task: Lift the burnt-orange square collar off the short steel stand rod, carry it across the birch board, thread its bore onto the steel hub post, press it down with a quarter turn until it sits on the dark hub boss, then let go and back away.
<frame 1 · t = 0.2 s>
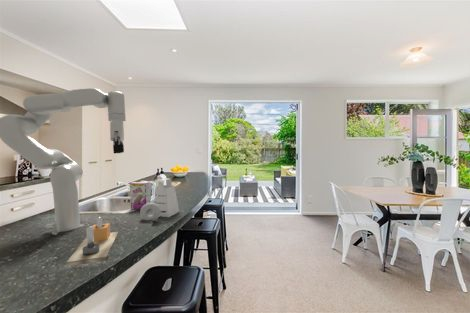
hand: (119, 152, 120), 36 cm above the counter, tool pointing down, fingers open, 9 cm apart
candy bar box: (140, 208, 153), on the counter
grater: (166, 214, 141), on the counter
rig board: (96, 248, 96), on the counter
hub: (91, 256, 89), resting on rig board
collar: (100, 238, 102), point 1 cm above the counter, touching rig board
donut: (150, 222, 127), on the counter
stand rod: (100, 241, 102), resting on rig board
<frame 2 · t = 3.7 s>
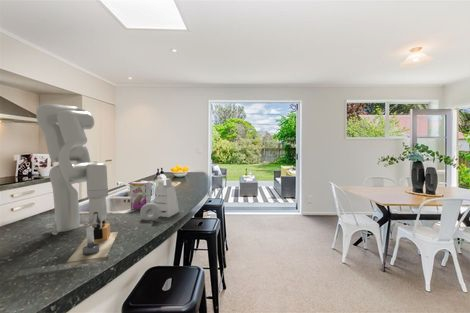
hand: (100, 235, 102), 3 cm above the counter, tool pointing down, fingers closed on collar, 6 cm apart
collar: (100, 238, 102), point 1 cm above the counter, touching gripper, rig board
everything else where it was.
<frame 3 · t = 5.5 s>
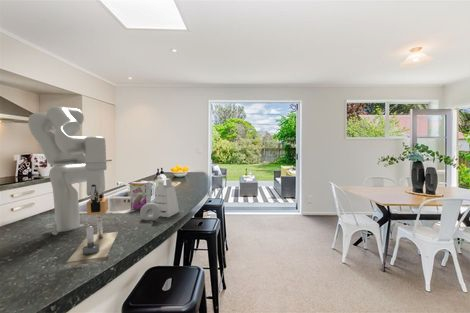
hand: (98, 209, 102), 14 cm above the counter, tool pointing down, fingers closed on collar, 6 cm apart
collar: (98, 212, 102), point 12 cm above the counter, touching gripper
everything else where it was.
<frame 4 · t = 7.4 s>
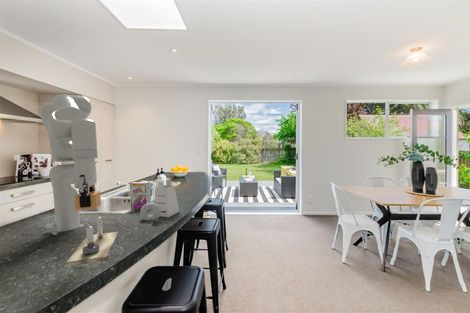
hand: (88, 204, 88), 19 cm above the counter, tool pointing down, fingers closed on collar, 6 cm apart
collar: (88, 207, 88), point 18 cm above the counter, touching gripper
everything else where it was.
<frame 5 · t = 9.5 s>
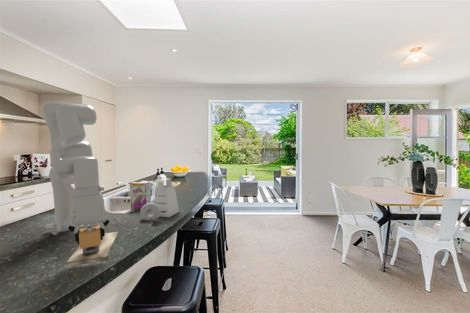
hand: (90, 240, 88), 6 cm above the counter, tool pointing down, fingers closed on collar, 6 cm apart
collar: (90, 243, 88), point 5 cm above the counter, touching gripper
everything else where it was.
when the fingers open (5 cm above the counter, at t = 11.1 s): collar stays where it is, resting on hub.
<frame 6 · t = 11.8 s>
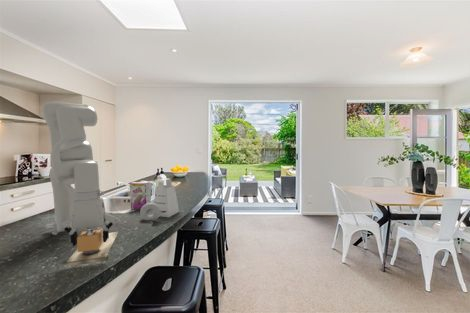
hand: (90, 242, 89), 5 cm above the counter, tool pointing down, fingers open, 9 cm apart
collar: (90, 247, 88), point 3 cm above the counter, touching hub
everything else where it was.
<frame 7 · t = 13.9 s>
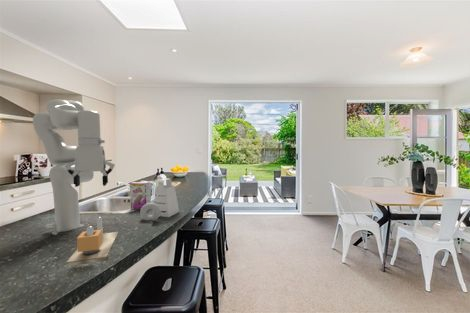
hand: (91, 185, 97), 24 cm above the counter, tool pointing down, fingers open, 9 cm apart
nothing on the counter moved.
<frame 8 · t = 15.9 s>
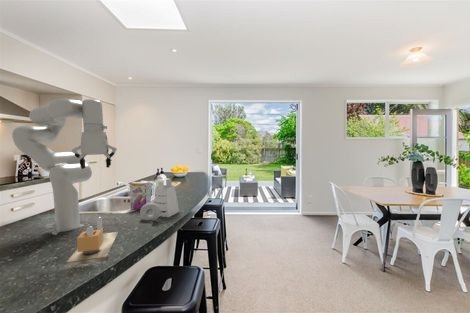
hand: (95, 167, 107), 30 cm above the counter, tool pointing down, fingers open, 9 cm apart
nothing on the counter moved.
at the end: collar 0.1 cm from the target spot on the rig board, point 3.5 cm above the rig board's base; collar tilted 0°; the gripper is holding nothing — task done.
